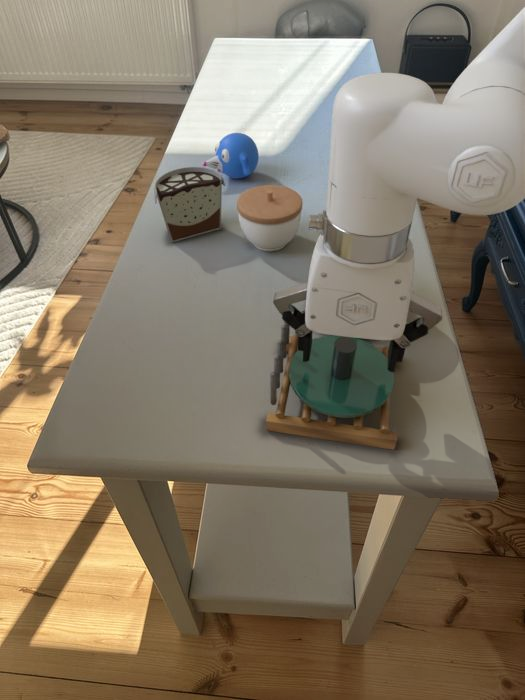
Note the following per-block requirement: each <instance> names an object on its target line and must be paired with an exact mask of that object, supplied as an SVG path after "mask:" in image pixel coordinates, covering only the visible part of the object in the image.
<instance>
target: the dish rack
mask: <svg viewBox="0 0 525 700" xmlns="http://www.w3.org/2000/svg"><path fill="white" fill-rule="evenodd" d="M283 321H284V320H283ZM290 328H291V326H290V325H288V324H287V323H286V322H285V321H284V323H283V324H282V326H281V327H280V329H281V330H280V339H279V340H278V341H277V354H276V355H274V358H273V371H272V372H271V373H270V375H269V376H270V377H269V381H270V383H269V384H270V387H269V388H270V393H269V395H270V396H269V397H270V405H271V406H275V405H277V406H276V412H275V413H272V412H268V413H267V416H266V420H265V421H266V422H265V425H266V429H265V430H266V431H268V432H275V433H282V434H286V435H288V434H289V435H295V436H300V437H306V438H314V439H319V440H320V439H321V440H327V441H332V442H341V443H347V444H353V445H354V444H355V445H359V446H367V447H373V448H380V449H387V450H395V448H396V445H397V442H398V431H394V430H390V410H391V407H390V405H391V402H390V401H391V400H390V399H391V396H390V397H389V398H388V399H387V401H386V402H385V403H384V404H383V405H382V406H381V407H380V418H379V419H380V421H379V422H380V423H379V428H374V427H368V426H367V427H366V426H363V425H364V415H363V416H359V417H353V424H346V423H339V422H337V418H338V417H334V416H329V415H327V420H318V419H314V418H313V419H311V416H312V410H313V409H312V408H310V407H309V406H307V405H306V404H305V403H304V402H303V405H302V412H301V417H299V416H292V415H285V414H286V409H287V403H288V400H289V399H288V398H289V393H290V387H291V384H290V379H289V367H290V363H291V360H292V358H293V356H294V354H295V353H296V352H297V350H298V336H297V335H296V334H293V335H292V336H290V332H291V329H290ZM316 338H317V337H315V338H312V340H313V339H316ZM375 347H376V348H377V349H379V350H380V351H381V352H382V353H383V354H384V355H385V357H386V358H387V359H388V349H389V345H385V346H383V347H379V346H375ZM287 353H288V354H287ZM286 358H287V359H286ZM284 359H286V362H285V363H286V364H285V367H284ZM283 372H284V373H283ZM281 374H283V378H282V382H281ZM280 387H281V388H280ZM278 389H280V392H279V397H278V402H277V390H278Z"/></svg>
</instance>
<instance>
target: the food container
mask: <svg viewBox="0 0 525 700" xmlns="http://www.w3.org/2000/svg"><path fill="white" fill-rule="evenodd" d="M223 187H226V183H225V180H224V178H223V176H222V173H220V172H218V171H216V170H215V169H213V168H209V167H208V168H207V167H204V166H187V167H180V168H176V169H172V170H169V171H167V172H166V173H163V174H162V175H161V176H159V178H158V179H157V180H156V181H155V183H154V188H153V201H154V204H155V205H156V204H157V203H158V205H159V207H160V210H161V214H162V217H163V220H164V223H165V226H166V229H167V233H168V236H169V240H170V242H171V243H176V242H179V241H183V240H186V239H189V238H193V237H197V236H201V235H204V234H207V233H211V232H214V231H217V230H221V229H222V199H223V198H222V196H223V195H222V194H223V192H222V191H223ZM157 200H158V202H157Z"/></svg>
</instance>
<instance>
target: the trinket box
mask: <svg viewBox="0 0 525 700" xmlns="http://www.w3.org/2000/svg"><path fill="white" fill-rule="evenodd" d="M236 200H237V201H236V208H237V215H238V222H239V226H240V229H241V232H242V233H243V236H244V237H245V238H246V240H247V241H248V242H249V243H251V244H252V245H253V246H254V247H255V248H256V249H257V250H260V251H263V252H275V251H279V250H281V249H283V248H285V247H286V246H287V245H288V244H289V243H290V242H291V241H292V240H293V239H294V237H295V236H296V235H297V233H298V231H299V227H300V225H301V218H302V210H303V198H302V196H301V195H300V194H299V193H298V192H297V191H296V190H294V189H292V188H290V187H286V186H285V185H284V186H283V185H277V184H263V185H258V186H253V187H250V188H249V189H246V190H245V191H243V192H242V193H241V194H240V195H239V196H238V198H237V199H236Z"/></svg>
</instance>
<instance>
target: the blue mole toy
mask: <svg viewBox="0 0 525 700" xmlns="http://www.w3.org/2000/svg"><path fill="white" fill-rule="evenodd" d="M214 151H215V152H214V153H215V154H214V156H213V157H211V158H209V159H207V160H204V161H203V162H202V163H201V165H202V167H208V168H210V169H212V170H217V171H216V172H218V173H219V174H223V175H225V176H227V177H229V178H231V179H244V178H246V177H248V176H250V175H252V174H253V172H254V171H255V170H256V169H257V167H258V163H259V150H258V147H257V144H256V142H255V141H254V140H253V138H251V136H249V135H247V134H245V133H241V132H232V133H229V134H227V135H225V136H223V137H222V138H221V139H220V140H219V142H218V143H217V144H216V145H215V148H214Z"/></svg>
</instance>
